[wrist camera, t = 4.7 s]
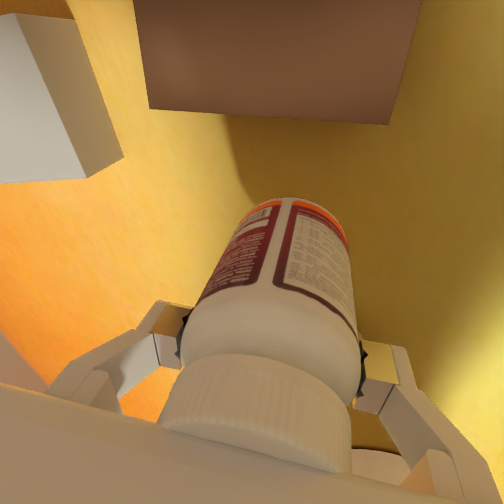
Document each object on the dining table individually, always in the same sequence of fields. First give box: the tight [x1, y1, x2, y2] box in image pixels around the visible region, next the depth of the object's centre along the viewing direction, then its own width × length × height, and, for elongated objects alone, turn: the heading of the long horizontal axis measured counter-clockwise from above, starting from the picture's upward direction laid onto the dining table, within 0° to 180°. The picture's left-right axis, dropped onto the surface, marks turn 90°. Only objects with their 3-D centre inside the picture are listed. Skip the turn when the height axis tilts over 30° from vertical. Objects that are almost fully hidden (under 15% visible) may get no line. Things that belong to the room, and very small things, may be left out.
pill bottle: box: [157, 197, 361, 474], centre depth 12 cm, size 6×6×11 cm
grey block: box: [0, 13, 124, 184], centre depth 16 cm, size 7×7×4 cm
